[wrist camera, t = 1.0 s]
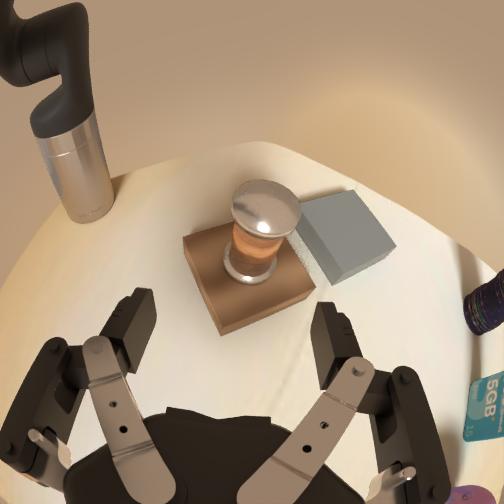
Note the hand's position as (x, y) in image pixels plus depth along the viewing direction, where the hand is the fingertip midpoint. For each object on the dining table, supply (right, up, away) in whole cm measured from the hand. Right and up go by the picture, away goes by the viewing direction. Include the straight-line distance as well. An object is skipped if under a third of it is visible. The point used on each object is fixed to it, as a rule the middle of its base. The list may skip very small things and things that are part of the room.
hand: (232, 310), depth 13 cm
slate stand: (+16, +5, +32) cm, 36 cm away
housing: (+1, +2, +22) cm, 22 cm away
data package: (+42, -27, +17) cm, 53 cm away
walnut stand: (0, -1, +25) cm, 25 cm away
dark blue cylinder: (+48, -11, +29) cm, 57 cm away
